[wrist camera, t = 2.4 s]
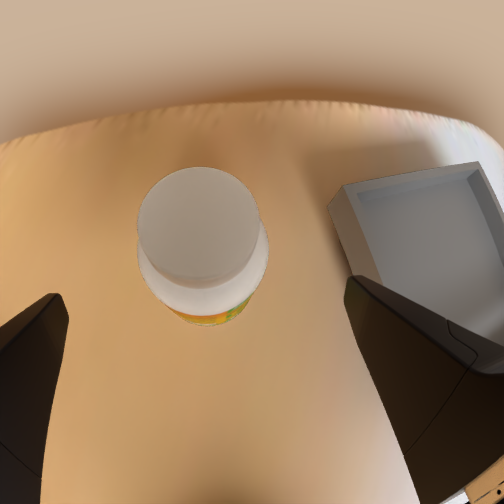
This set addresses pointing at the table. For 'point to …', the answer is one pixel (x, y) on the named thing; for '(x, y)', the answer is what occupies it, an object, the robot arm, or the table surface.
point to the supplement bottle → (201, 244)
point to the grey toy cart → (430, 241)
